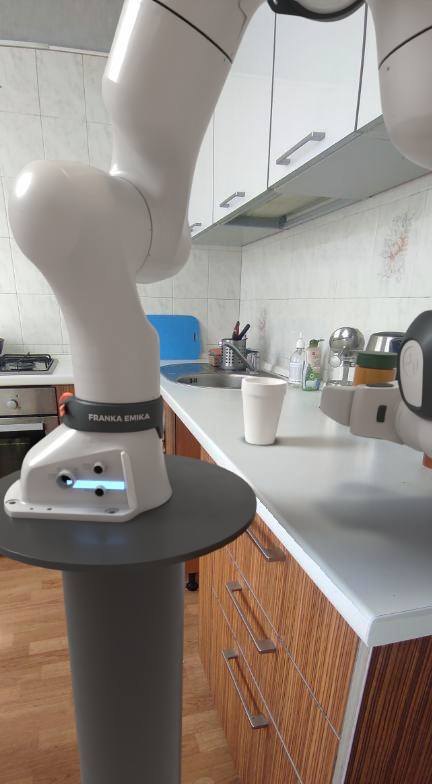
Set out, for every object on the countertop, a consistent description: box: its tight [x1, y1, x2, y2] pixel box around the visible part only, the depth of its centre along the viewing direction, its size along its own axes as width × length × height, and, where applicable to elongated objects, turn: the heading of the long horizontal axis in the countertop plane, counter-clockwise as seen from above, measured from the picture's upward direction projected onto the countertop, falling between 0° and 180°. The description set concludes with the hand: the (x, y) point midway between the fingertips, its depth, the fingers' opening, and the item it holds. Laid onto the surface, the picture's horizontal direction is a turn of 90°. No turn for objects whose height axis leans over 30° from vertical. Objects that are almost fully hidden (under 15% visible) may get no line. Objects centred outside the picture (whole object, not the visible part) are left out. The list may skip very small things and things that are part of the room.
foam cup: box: [240, 376, 288, 446], centre depth 99 cm, size 10×9×13 cm
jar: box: [351, 364, 397, 386], centre depth 72 cm, size 6×6×11 cm
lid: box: [354, 350, 398, 368], centre depth 70 cm, size 6×6×2 cm
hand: (368, 392), depth 73 cm, fingers closed on jar, 6 cm apart
